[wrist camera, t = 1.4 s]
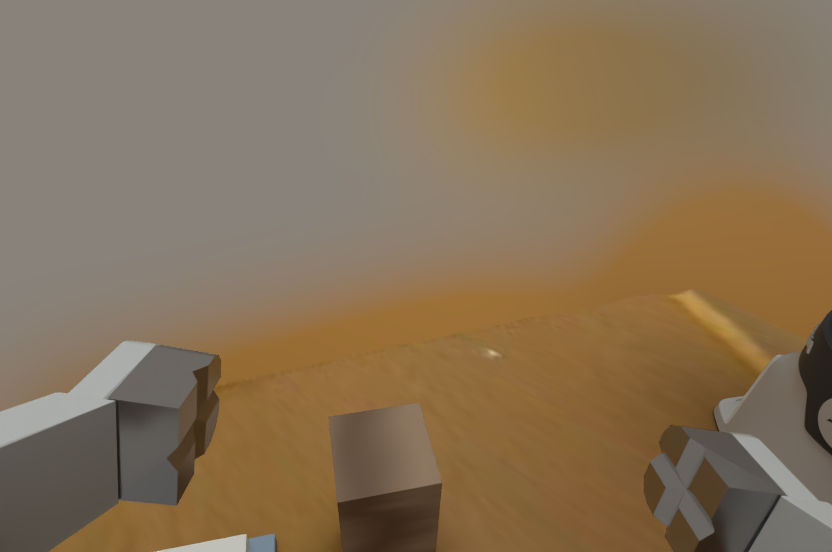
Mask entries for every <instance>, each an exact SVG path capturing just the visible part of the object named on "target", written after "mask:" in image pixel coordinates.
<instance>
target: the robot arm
mask: <svg viewBox="0 0 832 552" xmlns="http://www.w3.org/2000/svg"><path fill="white" fill-rule="evenodd" d="M220 378H221V359H220V357H219V355H216V354H210V353H204V352H198V351H193V350H187V349H181V348H175V347H170V346H164V345H157V344H153V343H146V342H139V341H132V340H130V341H124V342H122V343H121V344H120V345H119V346H118V347H117V348H116V349H114V350H113V351H112V352H111V353H110V354H109V355H108V356H107V357H106V358H105V359H104V360H103V361H102V362H101V363H100V364H99V365H97V366H96V367H95V368H94V369H93V370H92V371H91V372H90V373H89V374H88V375H87V376H86V377H85V378H84V379H83V380H82V381H81V382H79V383H78V384H77V385H76V386H75V387H74V388H73V389H72V390H71V391H70V392H69V393H68V394H66V393H59V392H57V393H54V394H51V395H48V396H45V397H42V398H39V399H36V400H33V401H30V402H28V403H25V404H22V405H18V406H16V407H13V408H10V409H7V410H4V411H1V412H0V552H48V551H50V550H51V549H53V548H54V547H56V546H57V545H58V544H60V543H61V542H63V541H64V540H66V539H67V538H69V537H70V536H72V535H73V534H74V533H76V532H77V531H79V530H80V529H82V528H83V527H85V526H86V525H88V524H89V523H90V522H92V521H93V520H95V519H96V518H98V517H99V516H101V515H102V514H103V513H105V512H106V511H108V510H109V509H111V508H112V507H114V506H115V505H117V504H118V502H119V500H124V501H134V502H145V503H155V504H165V505H175V506H177V504H178V502H179V500H180V499H181V497H182V495H183V493H184V491H185V489H186V487H187V486H188V484H189V482H190V480H191V478H192V476H193V474H194V462H195V459H196V458H198V457H200V456H201V455H203V454H205V452H206V450H207V448H208V446H209V444H210V442H211V439H212V436H213V433H214V430H215V427H216V423H217V417H218V412H219V398H218V396H217V395H216V393H215V392H214V390H213V389H214V388H215V386H216V384H217V383H218V381H219V379H220ZM714 416H715V420H716V423H717V426H718V428H719V431H713V430H705V429H698V428H690V427H683V426H675V425H670V426H669V427H668V428H667V429H666V430H665V431H664V432H663V434H662V436H661V439H660V441H659V445H660V448H661V451H662V454H660V455H659V456H657V457H656V458H654V459H653V460H651V461H650V463H649V465H648V468H647V470H646V473H645V475H644V494H645V498H646V502H647V504H648V506H649V508H650V510H651V512H652V514H653V515H654V516H655V517H656V518H657V519H659V520H660V521H661V522H662V523H663V524H665V525H666V526H667V529H666V534H665V537H666V539H667V541H668V543H669V544H670V546H671V548H672V550H673V551H674V552H832V310H831V311H830V312H829V313H828V314H827V316H826V317H825V318H824V320H823V321H822V322H820V323H819V324H818V325H817V326H816V327H815V329H814V330H813V332H812V333H811V335H810V336H809V338H808V341H807V344H806V346H805V347H804V349H803V350H802V352H793V353H789V354H786V355H780V354H779V355H777V356H775V357H774V358H773V359H772V360H771V361H770V362H769V363H768V365H767V366H766V367H765V369H764V370H763V371H762V373H761V374H760V375H759V377H758V378H757V380H756V381H755V382H754V384H753V385H752V386H751V388H750V389H749V390H748V392H747V393H746V395H745V396H739V397H733V398H726V399H723V400H721V401H720V402H719V403H718V404H717V406H716V407H715V408H714Z"/></svg>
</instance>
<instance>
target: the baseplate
mask: <svg viewBox="0 0 832 552" xmlns="http://www.w3.org/2000/svg"><path fill="white" fill-rule="evenodd" d="M156 552H277V541H276V537H275V534H270V535H265V536H260V537H255V538H250V539H248V537H247V534H243V535H238V536H233V537H228V538H223V539H218V540H213V541H207V542H202V543H197V544H192V545H187V546H182V547H177V548H171V549H166V550H161V551H156Z"/></svg>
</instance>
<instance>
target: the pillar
mask: <svg viewBox="0 0 832 552" xmlns="http://www.w3.org/2000/svg"><path fill="white" fill-rule="evenodd" d="M329 425H330V435H331V445H332V455H333V465H334V474H335V484H336V494H337V504H338V512H339V521H340V529H341V537H342V546H343V552H436V541H437V531H438V520H439V510H440V499H441V488H442V481H441V478H440V474H439V471H438V467H437V464H436V460H435V457H434V453H433V450H432V446H431V443H430V439H429V436H428V432H427V429H426V425H425V422H424V418H423V415H422V411H421V408H420V404H419V403H414V404H407V405H401V406H395V407H388V408H382V409H376V410H369V411H363V412H357V413H350V414H344V415H337V416H331V417H329Z"/></svg>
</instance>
